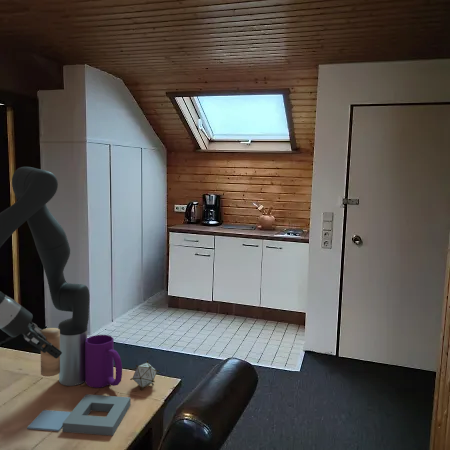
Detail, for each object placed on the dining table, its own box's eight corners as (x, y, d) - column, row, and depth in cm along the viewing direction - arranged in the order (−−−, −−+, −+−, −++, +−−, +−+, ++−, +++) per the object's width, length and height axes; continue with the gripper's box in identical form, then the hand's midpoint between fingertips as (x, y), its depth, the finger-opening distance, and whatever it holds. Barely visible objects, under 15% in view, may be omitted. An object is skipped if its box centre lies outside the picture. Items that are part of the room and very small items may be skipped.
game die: (144, 394, 149) (150, 364, 154) (160, 393, 144) (166, 362, 149) (122, 388, 144) (129, 357, 149) (138, 386, 139) (145, 355, 144)
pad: (43, 411, 130) (43, 409, 130) (73, 413, 129) (73, 412, 129) (27, 428, 121) (27, 427, 121) (59, 431, 120) (59, 429, 120)
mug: (102, 373, 155) (102, 332, 154) (131, 387, 146) (132, 343, 144) (79, 382, 148) (79, 339, 146) (109, 397, 139) (109, 352, 137)
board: (86, 401, 136) (86, 394, 136) (130, 405, 135) (130, 397, 134) (62, 431, 120) (62, 423, 120) (112, 435, 119) (112, 426, 119)
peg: (46, 368, 126) (45, 327, 125) (63, 369, 126) (62, 328, 124) (37, 375, 121) (36, 333, 120) (55, 377, 121) (54, 334, 119)
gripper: (23, 312, 111) (72, 350, 119) (17, 298, 124) (62, 333, 131) (-1, 335, 109) (51, 372, 116) (-4, 319, 121) (43, 353, 129)
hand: (57, 351), depth 124 cm, fingers closed on peg, 5 cm apart
